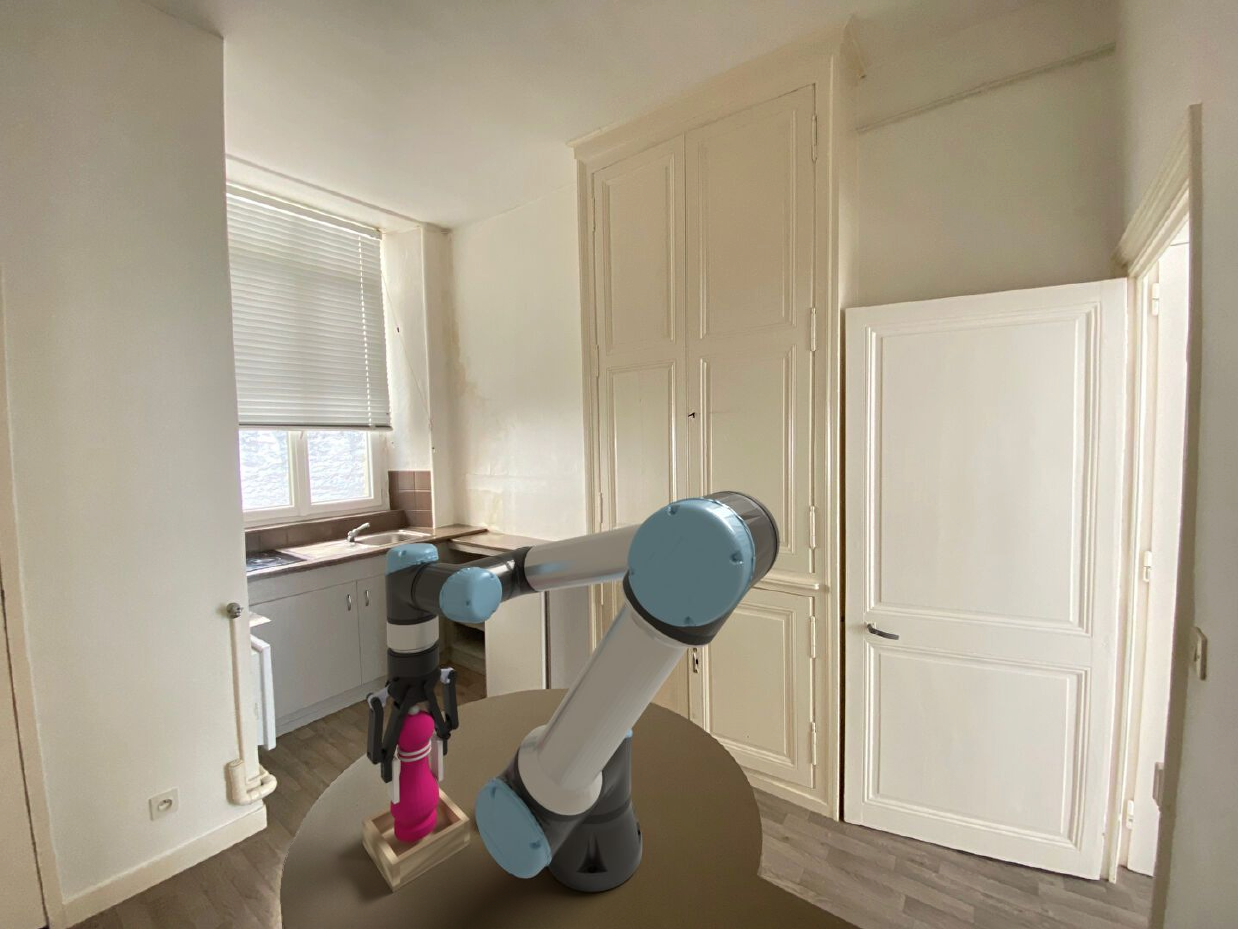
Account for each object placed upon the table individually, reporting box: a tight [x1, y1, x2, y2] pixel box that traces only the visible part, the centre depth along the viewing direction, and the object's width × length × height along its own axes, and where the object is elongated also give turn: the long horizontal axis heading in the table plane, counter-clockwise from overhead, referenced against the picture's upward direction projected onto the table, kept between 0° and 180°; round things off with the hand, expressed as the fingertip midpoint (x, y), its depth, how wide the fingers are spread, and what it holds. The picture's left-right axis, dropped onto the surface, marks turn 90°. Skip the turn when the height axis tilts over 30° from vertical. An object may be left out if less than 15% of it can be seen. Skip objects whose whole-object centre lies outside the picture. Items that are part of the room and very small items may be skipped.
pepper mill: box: [389, 703, 440, 842], centre depth 79 cm, size 7×7×20 cm
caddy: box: [362, 787, 471, 893], centre depth 79 cm, size 12×12×4 cm
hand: (415, 787), depth 79 cm, fingers closed on pepper mill, 6 cm apart
